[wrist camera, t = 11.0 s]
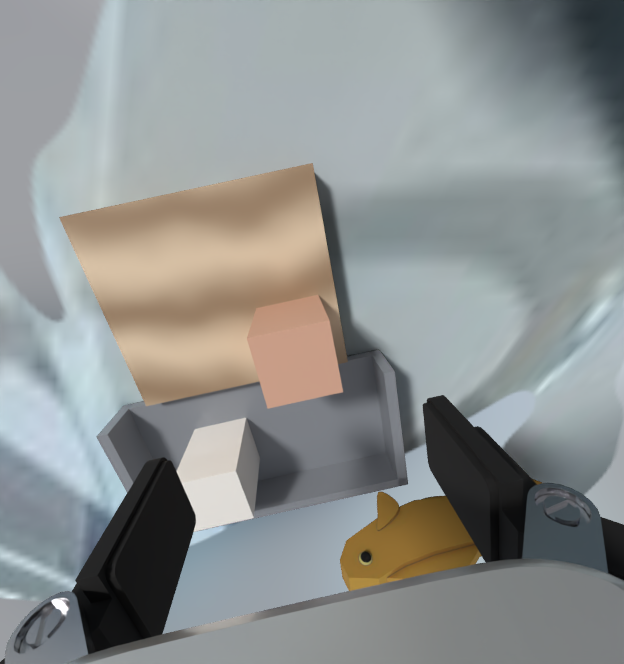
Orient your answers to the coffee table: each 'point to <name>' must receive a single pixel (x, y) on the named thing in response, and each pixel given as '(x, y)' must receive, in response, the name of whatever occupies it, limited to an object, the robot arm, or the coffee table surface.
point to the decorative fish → (407, 543)
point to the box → (282, 437)
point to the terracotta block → (294, 352)
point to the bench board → (204, 275)
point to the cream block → (221, 473)
